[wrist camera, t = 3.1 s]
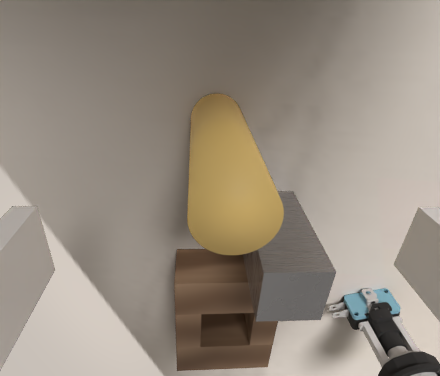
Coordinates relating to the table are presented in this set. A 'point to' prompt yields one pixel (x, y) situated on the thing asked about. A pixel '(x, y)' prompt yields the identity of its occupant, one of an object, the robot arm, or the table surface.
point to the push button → (386, 333)
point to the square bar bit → (290, 270)
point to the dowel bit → (228, 182)
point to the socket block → (217, 314)
